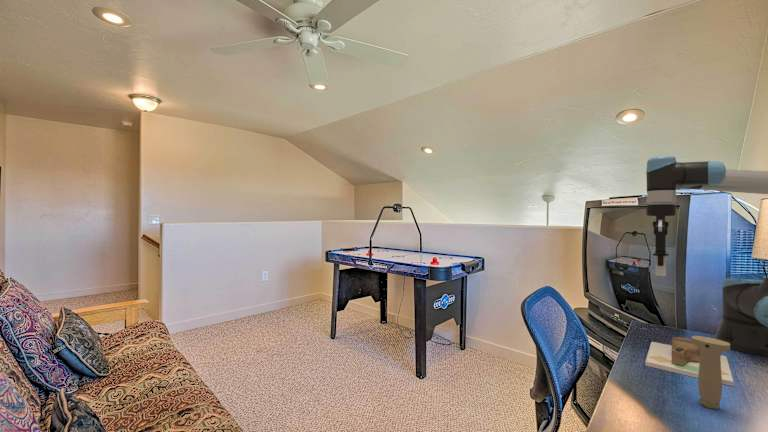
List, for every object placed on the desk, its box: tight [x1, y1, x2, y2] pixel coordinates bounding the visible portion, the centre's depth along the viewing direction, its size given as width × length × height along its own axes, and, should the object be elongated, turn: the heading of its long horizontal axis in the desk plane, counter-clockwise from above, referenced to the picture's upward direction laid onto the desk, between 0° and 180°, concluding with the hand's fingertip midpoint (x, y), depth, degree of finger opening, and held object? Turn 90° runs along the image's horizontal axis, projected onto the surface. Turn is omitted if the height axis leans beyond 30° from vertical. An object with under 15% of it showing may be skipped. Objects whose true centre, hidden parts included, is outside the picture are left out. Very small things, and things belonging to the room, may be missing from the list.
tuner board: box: [644, 341, 734, 387], centre depth 102 cm, size 18×22×1 cm
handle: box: [691, 335, 731, 410], centre depth 79 cm, size 5×6×15 cm
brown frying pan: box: [671, 336, 700, 366], centre depth 101 cm, size 13×7×5 cm, turn 126°
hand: (660, 275), depth 113 cm, fingers closed
